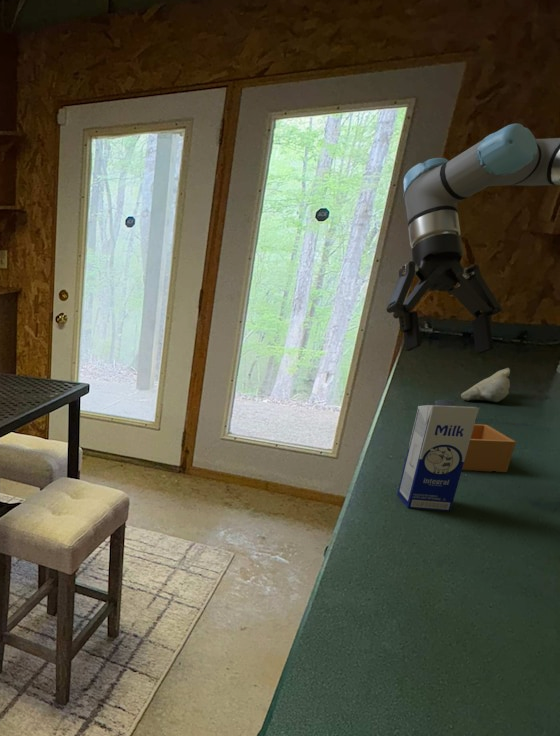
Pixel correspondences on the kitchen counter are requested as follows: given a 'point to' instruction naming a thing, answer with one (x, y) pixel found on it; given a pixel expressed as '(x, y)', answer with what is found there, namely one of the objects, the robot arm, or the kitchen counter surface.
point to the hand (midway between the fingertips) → (449, 350)
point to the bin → (488, 450)
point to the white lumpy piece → (490, 388)
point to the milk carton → (436, 455)
